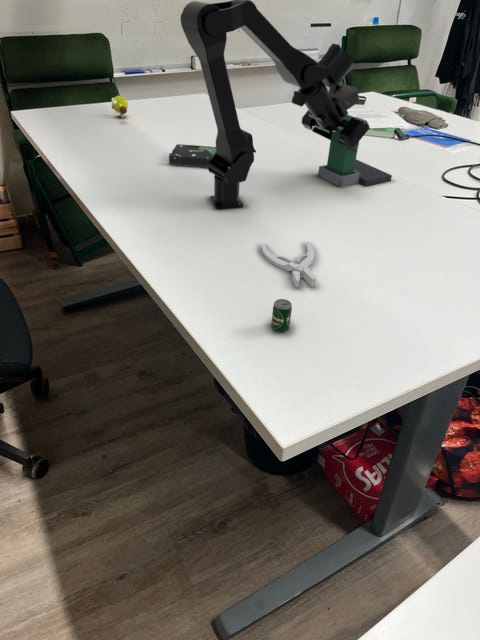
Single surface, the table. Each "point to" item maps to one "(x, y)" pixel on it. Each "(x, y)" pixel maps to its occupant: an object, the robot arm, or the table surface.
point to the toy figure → (119, 105)
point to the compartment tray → (356, 175)
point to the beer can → (281, 315)
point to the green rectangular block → (341, 155)
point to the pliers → (294, 265)
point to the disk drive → (191, 155)
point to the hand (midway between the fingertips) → (347, 146)
